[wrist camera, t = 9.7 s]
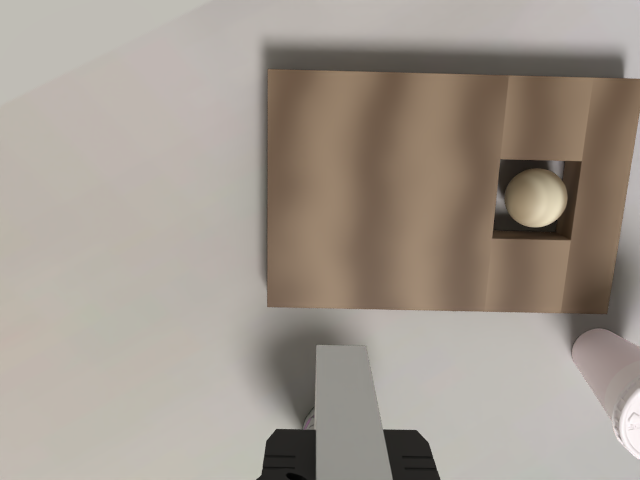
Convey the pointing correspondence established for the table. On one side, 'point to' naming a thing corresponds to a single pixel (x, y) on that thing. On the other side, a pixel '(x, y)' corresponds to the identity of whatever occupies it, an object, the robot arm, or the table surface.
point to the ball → (536, 197)
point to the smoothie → (613, 380)
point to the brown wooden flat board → (441, 190)
